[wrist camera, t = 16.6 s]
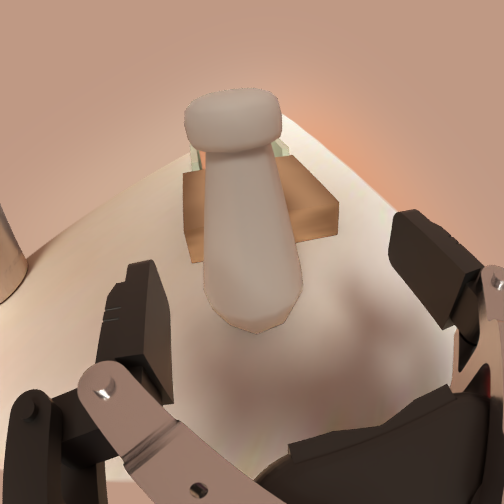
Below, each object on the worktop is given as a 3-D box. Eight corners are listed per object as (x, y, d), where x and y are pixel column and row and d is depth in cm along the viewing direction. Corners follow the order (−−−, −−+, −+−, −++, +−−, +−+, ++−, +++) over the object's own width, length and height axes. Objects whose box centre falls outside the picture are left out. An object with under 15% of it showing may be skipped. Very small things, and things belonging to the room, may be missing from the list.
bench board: (192, 263, 25) (183, 230, 23) (188, 198, 34) (182, 173, 33) (337, 234, 26) (339, 202, 24) (293, 179, 36) (292, 154, 34)
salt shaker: (216, 353, 17) (155, 114, 10) (207, 288, 22) (166, 96, 15) (315, 331, 18) (317, 92, 10) (289, 272, 23) (277, 80, 15)
